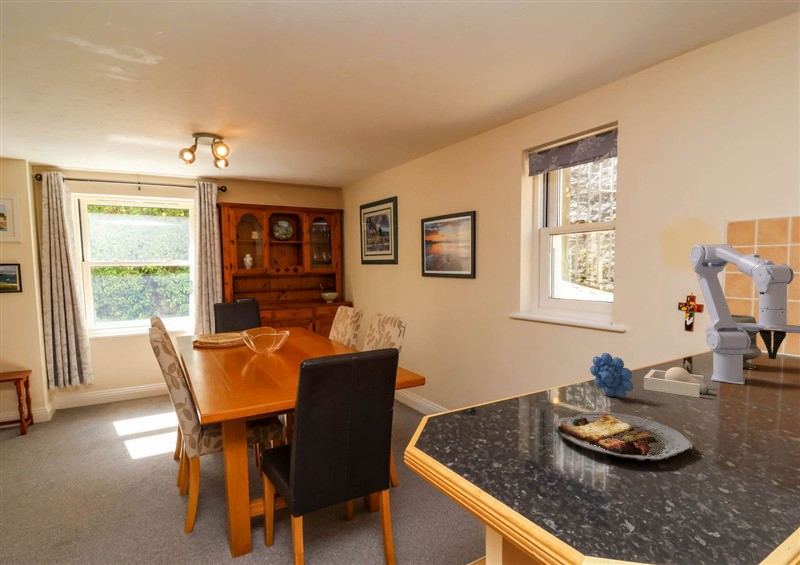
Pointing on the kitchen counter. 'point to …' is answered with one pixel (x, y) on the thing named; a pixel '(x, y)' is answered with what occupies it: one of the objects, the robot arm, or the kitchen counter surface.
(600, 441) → the food plate
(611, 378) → the grapes
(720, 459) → the kitchen counter surface
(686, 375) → the light bulb
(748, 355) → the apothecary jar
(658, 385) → the socket cradle
